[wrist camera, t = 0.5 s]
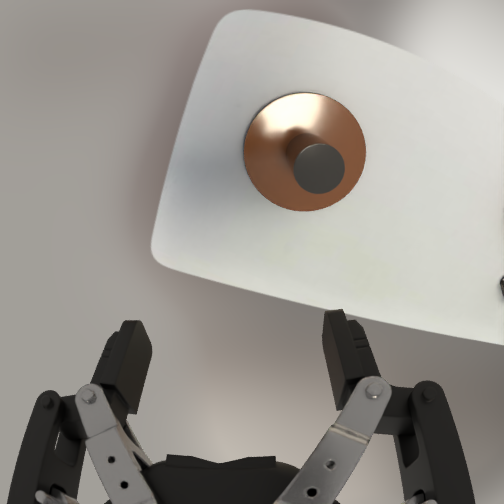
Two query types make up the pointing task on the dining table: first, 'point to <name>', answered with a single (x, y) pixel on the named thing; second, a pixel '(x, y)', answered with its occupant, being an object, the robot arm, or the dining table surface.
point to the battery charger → (503, 284)
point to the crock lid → (304, 151)
